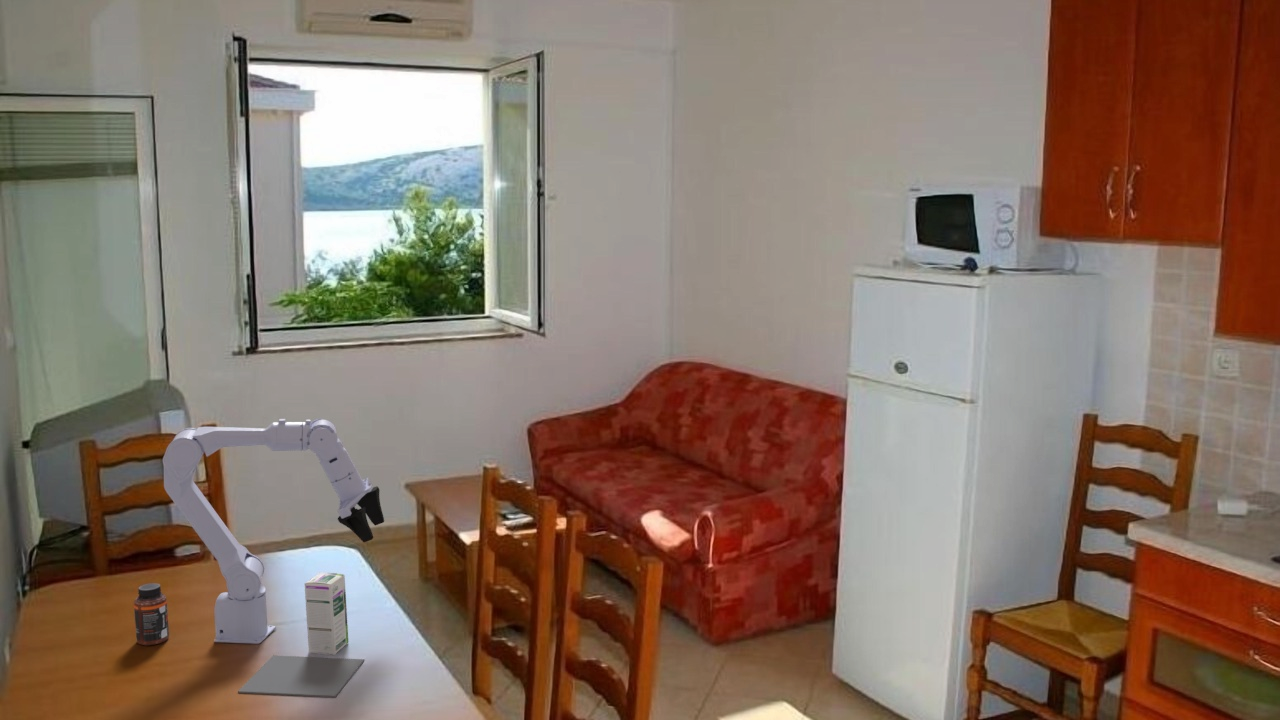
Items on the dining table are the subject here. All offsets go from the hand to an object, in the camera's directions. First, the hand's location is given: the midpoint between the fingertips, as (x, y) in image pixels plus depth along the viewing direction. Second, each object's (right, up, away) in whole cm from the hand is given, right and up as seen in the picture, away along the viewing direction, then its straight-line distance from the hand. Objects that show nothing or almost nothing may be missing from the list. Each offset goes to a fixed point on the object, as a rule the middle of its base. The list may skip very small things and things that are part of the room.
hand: (374, 531), depth 219 cm
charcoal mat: (-8, -23, -21) cm, 33 cm away
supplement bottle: (-43, -21, -6) cm, 48 cm away
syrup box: (-7, -22, -9) cm, 24 cm away
